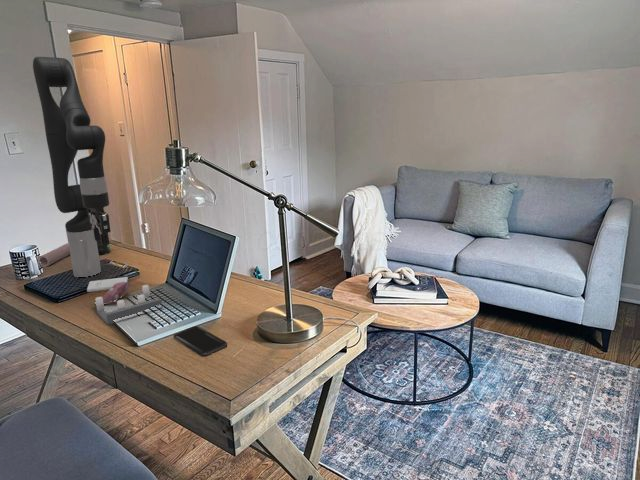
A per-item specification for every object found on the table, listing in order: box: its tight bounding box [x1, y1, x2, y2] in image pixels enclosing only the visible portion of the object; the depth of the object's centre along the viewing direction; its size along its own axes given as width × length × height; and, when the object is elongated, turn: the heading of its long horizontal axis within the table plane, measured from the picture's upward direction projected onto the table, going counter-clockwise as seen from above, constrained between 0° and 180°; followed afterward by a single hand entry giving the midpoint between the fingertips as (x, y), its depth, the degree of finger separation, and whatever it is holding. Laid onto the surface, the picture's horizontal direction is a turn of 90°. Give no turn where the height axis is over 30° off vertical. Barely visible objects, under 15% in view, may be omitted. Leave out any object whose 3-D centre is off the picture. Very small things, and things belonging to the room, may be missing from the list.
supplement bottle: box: [97, 227, 111, 256], centre depth 193 cm, size 7×7×12 cm
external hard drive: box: [86, 276, 129, 293], centre depth 160 cm, size 2×8×12 cm
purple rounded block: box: [102, 281, 131, 304], centre depth 147 cm, size 10×5×7 cm, turn 168°
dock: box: [94, 284, 162, 326], centre depth 139 cm, size 10×16×5 cm, turn 132°
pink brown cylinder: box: [39, 242, 70, 268], centre depth 186 cm, size 5×5×18 cm
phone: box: [173, 325, 228, 358], centre depth 121 cm, size 8×1×15 cm
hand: (102, 242), depth 147 cm, fingers open, 6 cm apart
